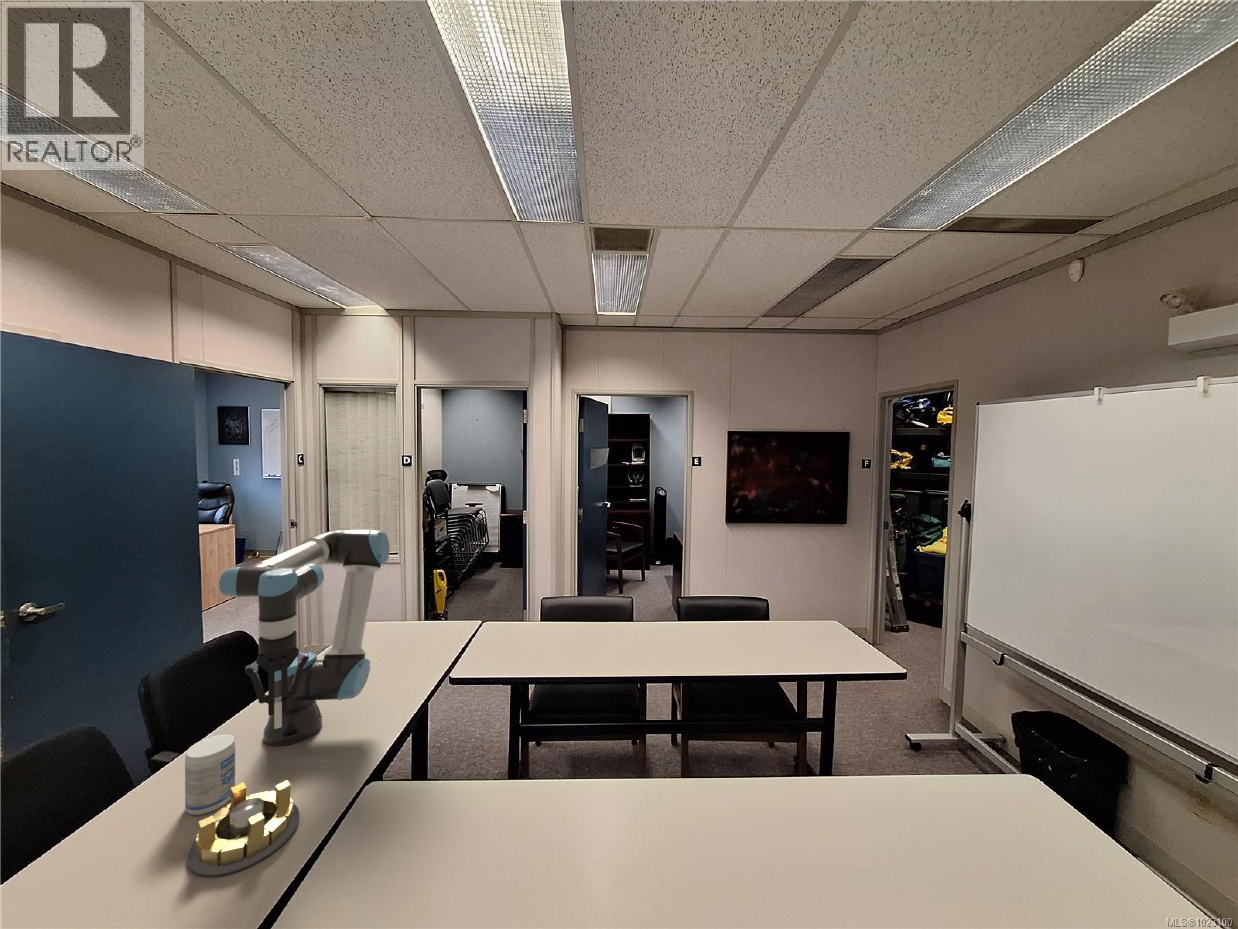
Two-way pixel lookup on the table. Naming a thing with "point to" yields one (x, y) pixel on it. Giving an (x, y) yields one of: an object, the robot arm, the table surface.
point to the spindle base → (246, 861)
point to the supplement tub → (209, 774)
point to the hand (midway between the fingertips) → (278, 725)
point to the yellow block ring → (258, 833)
